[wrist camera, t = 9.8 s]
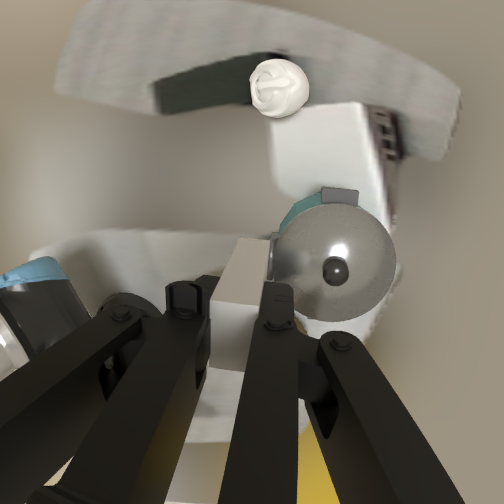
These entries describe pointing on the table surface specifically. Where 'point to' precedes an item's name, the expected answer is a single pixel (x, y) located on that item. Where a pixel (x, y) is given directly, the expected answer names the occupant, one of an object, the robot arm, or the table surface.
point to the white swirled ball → (278, 88)
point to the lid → (333, 261)
